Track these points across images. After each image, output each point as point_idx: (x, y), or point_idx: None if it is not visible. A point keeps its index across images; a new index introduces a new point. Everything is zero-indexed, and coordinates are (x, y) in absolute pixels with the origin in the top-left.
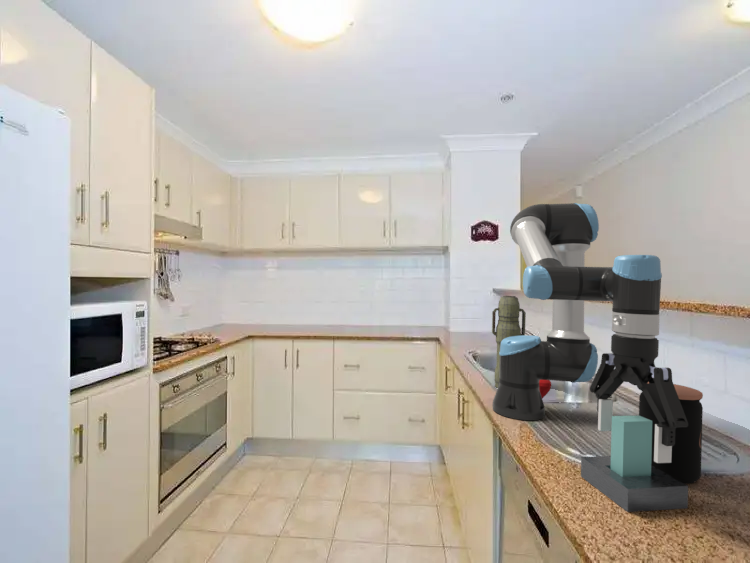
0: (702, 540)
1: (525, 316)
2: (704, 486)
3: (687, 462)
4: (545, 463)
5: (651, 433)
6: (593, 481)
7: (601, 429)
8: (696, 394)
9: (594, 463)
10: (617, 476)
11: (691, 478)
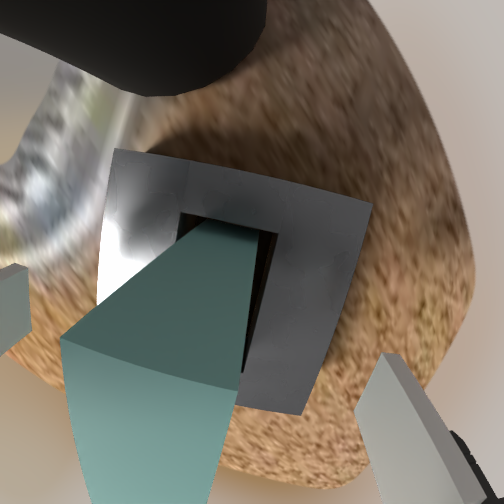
0: (428, 314)
1: None
2: (280, 5)
3: (256, 11)
4: (57, 355)
5: (246, 327)
6: None
7: (27, 330)
8: None
9: None
10: None
11: (264, 25)
